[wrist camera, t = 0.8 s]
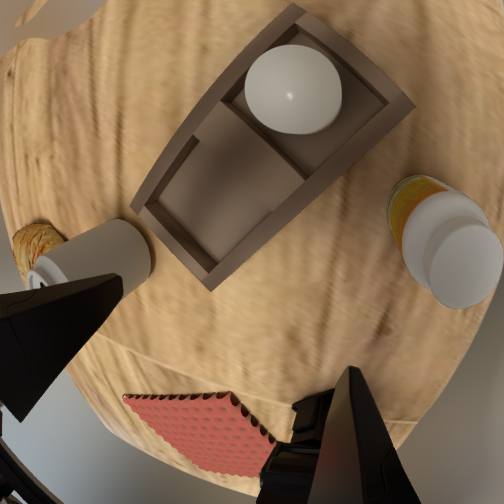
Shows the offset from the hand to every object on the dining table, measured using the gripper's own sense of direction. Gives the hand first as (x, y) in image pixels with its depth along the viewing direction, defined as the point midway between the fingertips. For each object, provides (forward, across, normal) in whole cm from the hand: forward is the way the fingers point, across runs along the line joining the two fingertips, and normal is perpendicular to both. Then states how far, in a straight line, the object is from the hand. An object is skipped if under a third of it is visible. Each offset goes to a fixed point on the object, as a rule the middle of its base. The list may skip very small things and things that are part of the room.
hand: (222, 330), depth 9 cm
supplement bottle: (+13, -9, -4) cm, 16 cm away
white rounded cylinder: (+12, +1, -9) cm, 15 cm away
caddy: (+13, +4, -4) cm, 14 cm away
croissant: (+14, +34, +15) cm, 39 cm away
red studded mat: (+14, +2, +43) cm, 46 cm away
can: (+13, +16, +8) cm, 22 cm away
